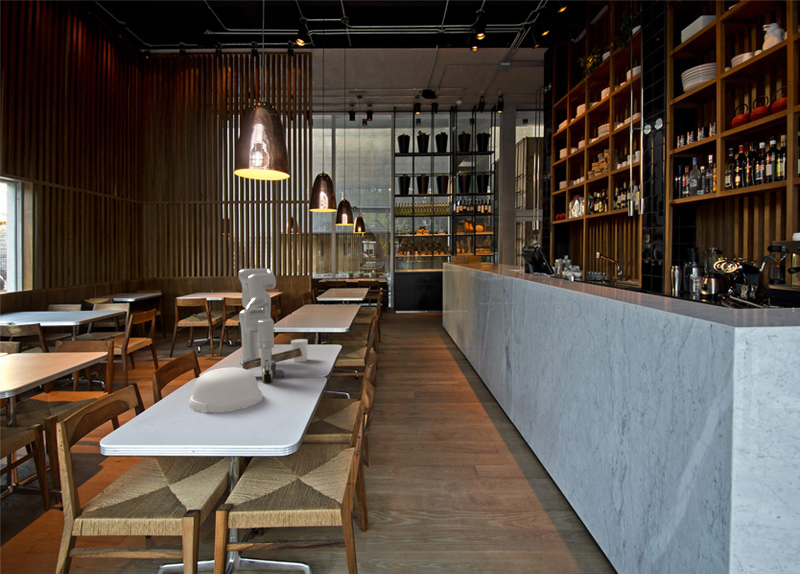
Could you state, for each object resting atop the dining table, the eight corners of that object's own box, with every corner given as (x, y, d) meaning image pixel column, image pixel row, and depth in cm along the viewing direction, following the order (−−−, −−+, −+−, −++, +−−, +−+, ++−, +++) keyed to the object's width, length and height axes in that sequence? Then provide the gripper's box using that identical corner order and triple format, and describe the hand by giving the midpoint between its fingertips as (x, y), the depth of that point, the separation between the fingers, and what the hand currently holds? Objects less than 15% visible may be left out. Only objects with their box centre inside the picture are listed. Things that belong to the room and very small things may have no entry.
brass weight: (260, 382, 240) (259, 370, 240) (268, 379, 244) (268, 368, 243) (266, 383, 237) (265, 371, 236) (274, 381, 241) (274, 369, 240)
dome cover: (239, 415, 192) (238, 380, 191) (172, 412, 197) (170, 378, 196) (274, 392, 223) (273, 362, 222) (215, 390, 228) (214, 360, 227)
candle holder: (306, 362, 282) (305, 342, 281) (289, 362, 282) (288, 342, 281) (309, 358, 292) (309, 339, 291) (293, 358, 292) (293, 339, 291)
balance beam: (243, 370, 246) (241, 362, 245) (244, 366, 253) (242, 359, 253) (302, 355, 253) (300, 348, 253) (301, 352, 261) (299, 345, 260)
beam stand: (263, 379, 245) (262, 361, 244) (263, 372, 260) (262, 355, 259) (283, 377, 248) (283, 359, 247) (282, 370, 262) (281, 354, 262)
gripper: (258, 342, 246) (259, 377, 248) (258, 348, 230) (259, 385, 231) (273, 341, 248) (274, 375, 250) (274, 347, 232) (275, 384, 233)
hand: (267, 380), depth 240 cm, fingers closed on brass weight, 5 cm apart
